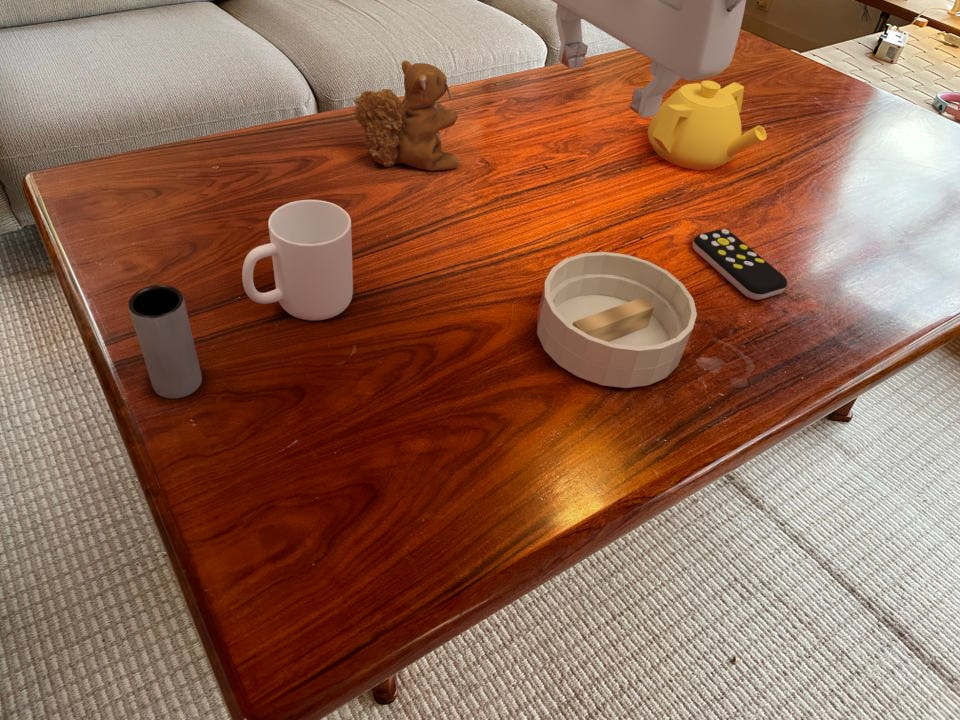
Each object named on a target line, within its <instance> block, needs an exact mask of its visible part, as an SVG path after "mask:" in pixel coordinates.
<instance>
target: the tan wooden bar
mask: <svg viewBox="0 0 960 720" xmlns="http://www.w3.org/2000/svg"><path fill="white" fill-rule="evenodd" d="M654 308H655V307H654V306H653V305H652V304H651V303H650V302H648V301H647V300H646V299H645V298H644V297H641V298H639V299H636V300H633V301H630V302H627V303H625V304H622V305H619V306H616V307H614V308H611V309H608V310H605V311H602V312H600V313H597V314H594V315H591V316H589V317H586V318H583V319H580V320H578V321H575V322H573V326H574V327H576V328H578V329H579V330H581V331H583V332H585V333H586V334H588V335H590V336H592V337H595V338H598V339H601V340H604V341H607V342H610V341H613V340H615V339H618V338H620V337H623V336H626V335H628V334H631V333H633V332H636V331H639V330H641V329H644V328H646V327H648V325H649V322H650V319H651V316H652V313H653V310H654Z"/></svg>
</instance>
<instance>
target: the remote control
mask: <svg viewBox="0 0 960 720" xmlns="http://www.w3.org/2000/svg"><path fill="white" fill-rule="evenodd" d="M692 249H693V250H694V252H695V253H697V254H698V256H699V257H701V258H702V259H703V260H704V261H706V263H707V264H709V265H710V266H711V267H712V268H714V269H715V270H716V271H717V272H718V273H719V274H720V275H721V276H722V277H723V278H725V280H727V281H728V282H729V283H730V284H731V285H732V286H734V287H735V288H736V289H737V290H738V291H739V292H740V293H742V294H743V295H744V296H745V297H746V298H747V299H750V300H753V301H760V300H763V299H767V298H770V297H773V296H774V297H775V296H777V295H781V294H782V293H783V292H785V290H786V289H787V286H788V280H787V278H786V277H785V275H784V274H782V273H781V272H780V271H779V270H777V269H776V268H775V267H774V266H773V265H771V264H770V263H769V262H768V261H767V260H765V258H763V257H761V255H759V254H758V253H757V252H756V251H755V250H753V249H752V247H750V246H748V245H747V244H746V243H745V242H744V241H743V240H742V239H740V238H739V237H738V236H736V235H735V234H734V233H732V232H731V231H729V230H728V229H724V228H723V229H716V230H711V231H707V232H703V233H699V234H697V235H696V236H695V237H694V239H693V240H692Z"/></svg>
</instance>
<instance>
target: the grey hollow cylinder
mask: <svg viewBox="0 0 960 720" xmlns="http://www.w3.org/2000/svg"><path fill="white" fill-rule="evenodd" d="M127 308H128V311H129V315H130V318H131V321H132V325H133V327H134V331H135V334H136V339H137V341H138V344H139V348H140V351H141V354H142V357H143V361H144V364H145V367H146V370H147V373H148V377H149V380H150V383H151V386H152V389H153V391H154V393H156V394H157V395H158V396H160V397H162V398H165V399H180V398H181V399H182V398H186V397H188V396H190V395H191V394H193V393H195V392H196V391H197V390H198V389H199V388H200V386H201V384H202V382H203V375H202V371H201V365H200V361H199V358H198V353H197V350H196V345H195V340H194V336H193V332H192V328H191V324H190V320H189V315H188V310H187V305H186V302H185V297H184V295H183V292H182V291H181V290H179V289H178V288H176V287H174V286H171V285H168V284H166V285H165V284H153V285H149V286H145V287H143V288H140V289H139V290H137V291H135V292H134V293H133V294H132V295H131V296H130V297H129V300H128V302H127Z"/></svg>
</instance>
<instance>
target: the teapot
mask: <svg viewBox="0 0 960 720" xmlns="http://www.w3.org/2000/svg"><path fill="white" fill-rule="evenodd" d="M744 92H745V86H744V85H742V84H740V83H738V82H736V81H734V82H732V83H730V84H728V85H726V86H724V87H723V88H721V85H720V84H719V83H718V82H716V81H714V80H703V81H702V80H701V82H700V83H699V82H698V83H695V82H694V83H687V84H684V85H682V86H680V87H679V88H677V89H676V90H675V91H674V92H673V93H672V94H670V96H669V97H668V98H667V99H666V100H664V102H663V103H661V105H660V108H659V111H658V113H657V114H656V115H655V116H652V118H651V120H650V122H649V125H648V128H647V138H648V141H649V144H650V145H651V147H652V148H653V150H654V152H655V153H656V154H657V155H658V156H659V157H660V158H662V159H663V160H665V161H666V162H668V163H670V164H673V165H675V166H678V167H679V168H680V167H681V168H684V169H689V170H694V171H695V170H696V171H711V170H715V169H718V168H720V167H722V166H724V165H726V164H728V163H730V162H731V161H732V160H734V158H736V156H737V155H738V154H741V153H742V152H744V151H746V150H748V149H750V148H752V147H754V146H756V145H757V144H760V143H762V142H763V141H765V140H766V139H767V136H768V135H767V134H768V133H767V132H766V129H765V127H763V126H762V125H756V126H754V127H753V128H751V129H749V130H748V131H745V132H744V133H743V131H742V128H743V127H742V121H741V116H740V113H741V112H742V105H743V100H744ZM742 133H743V134H742ZM727 162H728V163H727ZM719 165H720V166H719ZM714 166H715V167H714Z"/></svg>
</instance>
